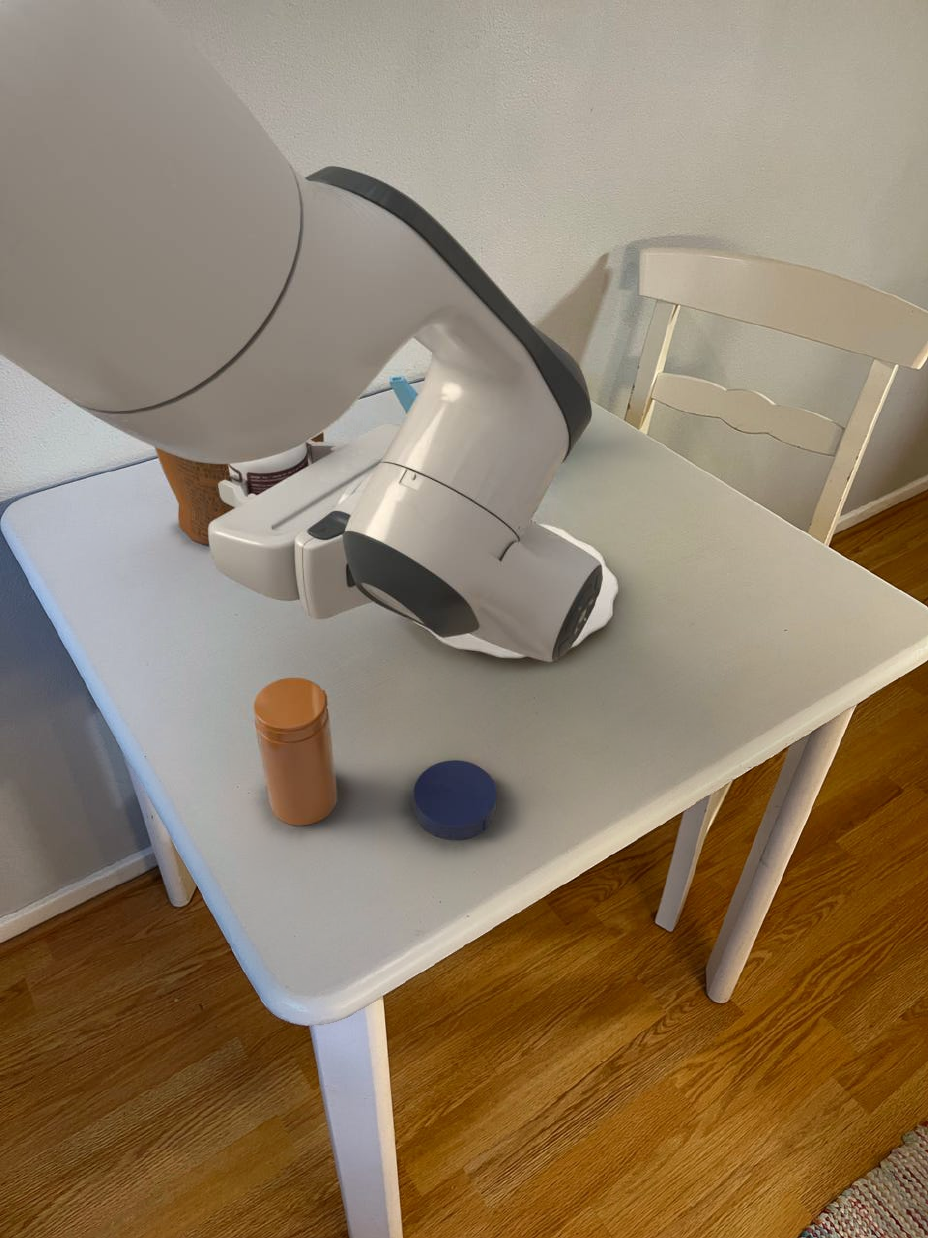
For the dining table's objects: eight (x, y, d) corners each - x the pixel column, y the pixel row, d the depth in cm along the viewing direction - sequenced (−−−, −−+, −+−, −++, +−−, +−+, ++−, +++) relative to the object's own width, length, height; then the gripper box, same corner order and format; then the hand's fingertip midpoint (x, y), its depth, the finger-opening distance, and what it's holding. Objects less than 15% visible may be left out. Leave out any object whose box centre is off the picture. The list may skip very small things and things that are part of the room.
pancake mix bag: (338, 567, 89) (314, 285, 71) (151, 551, 90) (81, 270, 72) (351, 528, 94) (332, 256, 76) (175, 514, 95) (114, 242, 77)
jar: (280, 835, 65) (263, 738, 58) (262, 785, 68) (244, 688, 62) (346, 812, 67) (337, 716, 60) (325, 765, 70) (314, 668, 63)
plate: (628, 551, 92) (630, 538, 91) (595, 689, 77) (597, 675, 76) (434, 516, 96) (434, 503, 95) (366, 641, 81) (365, 627, 80)
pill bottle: (329, 522, 76) (318, 403, 69) (290, 562, 72) (275, 439, 65) (266, 505, 78) (250, 387, 71) (225, 543, 74) (203, 421, 66)
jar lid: (513, 807, 67) (514, 794, 66) (454, 856, 64) (455, 842, 63) (455, 761, 71) (456, 747, 69) (396, 804, 67) (396, 790, 66)
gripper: (480, 435, 70) (347, 384, 76) (292, 558, 57) (150, 485, 63) (477, 504, 74) (351, 450, 80) (301, 633, 61) (167, 558, 67)
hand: (261, 467), depth 71 cm, fingers closed on pill bottle, 6 cm apart
